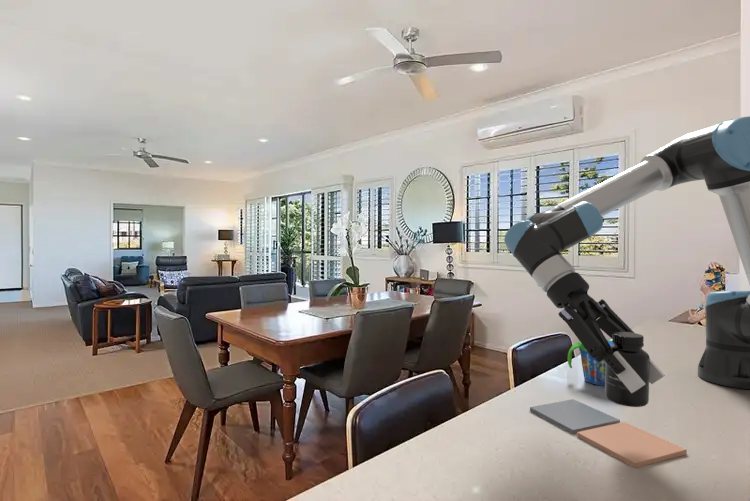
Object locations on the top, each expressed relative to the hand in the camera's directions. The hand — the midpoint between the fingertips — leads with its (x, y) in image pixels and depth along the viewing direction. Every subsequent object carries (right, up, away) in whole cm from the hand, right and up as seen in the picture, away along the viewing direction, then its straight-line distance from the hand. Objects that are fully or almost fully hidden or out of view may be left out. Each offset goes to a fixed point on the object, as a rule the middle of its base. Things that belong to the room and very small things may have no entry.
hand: (648, 384), depth 74 cm
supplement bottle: (-2, -4, +3) cm, 6 cm away
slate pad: (-6, -12, +15) cm, 20 cm away
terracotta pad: (-1, -12, +3) cm, 12 cm away
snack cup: (+11, -11, +36) cm, 40 cm away
